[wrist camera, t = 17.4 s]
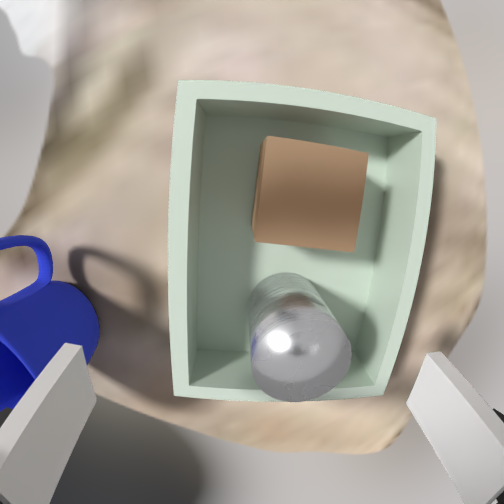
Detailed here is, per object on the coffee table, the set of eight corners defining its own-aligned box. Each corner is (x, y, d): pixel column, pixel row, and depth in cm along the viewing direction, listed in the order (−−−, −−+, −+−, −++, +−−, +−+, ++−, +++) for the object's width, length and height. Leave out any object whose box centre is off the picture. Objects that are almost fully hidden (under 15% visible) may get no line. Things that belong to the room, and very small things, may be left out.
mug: (100, 216, 19) (9, 252, 10) (119, 364, 22) (73, 451, 13) (17, 218, 19) (-72, 249, 9) (43, 351, 22) (-15, 416, 12)
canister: (249, 270, 20) (255, 317, 13) (324, 273, 20) (361, 319, 14) (245, 337, 21) (248, 401, 15) (313, 339, 22) (340, 399, 15)
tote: (193, 101, 18) (178, 80, 13) (397, 127, 19) (436, 118, 14) (185, 354, 22) (173, 395, 17) (360, 357, 23) (382, 395, 18)
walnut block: (260, 145, 18) (267, 135, 13) (338, 157, 19) (368, 153, 14) (251, 224, 19) (254, 241, 15) (327, 233, 20) (354, 252, 15)
